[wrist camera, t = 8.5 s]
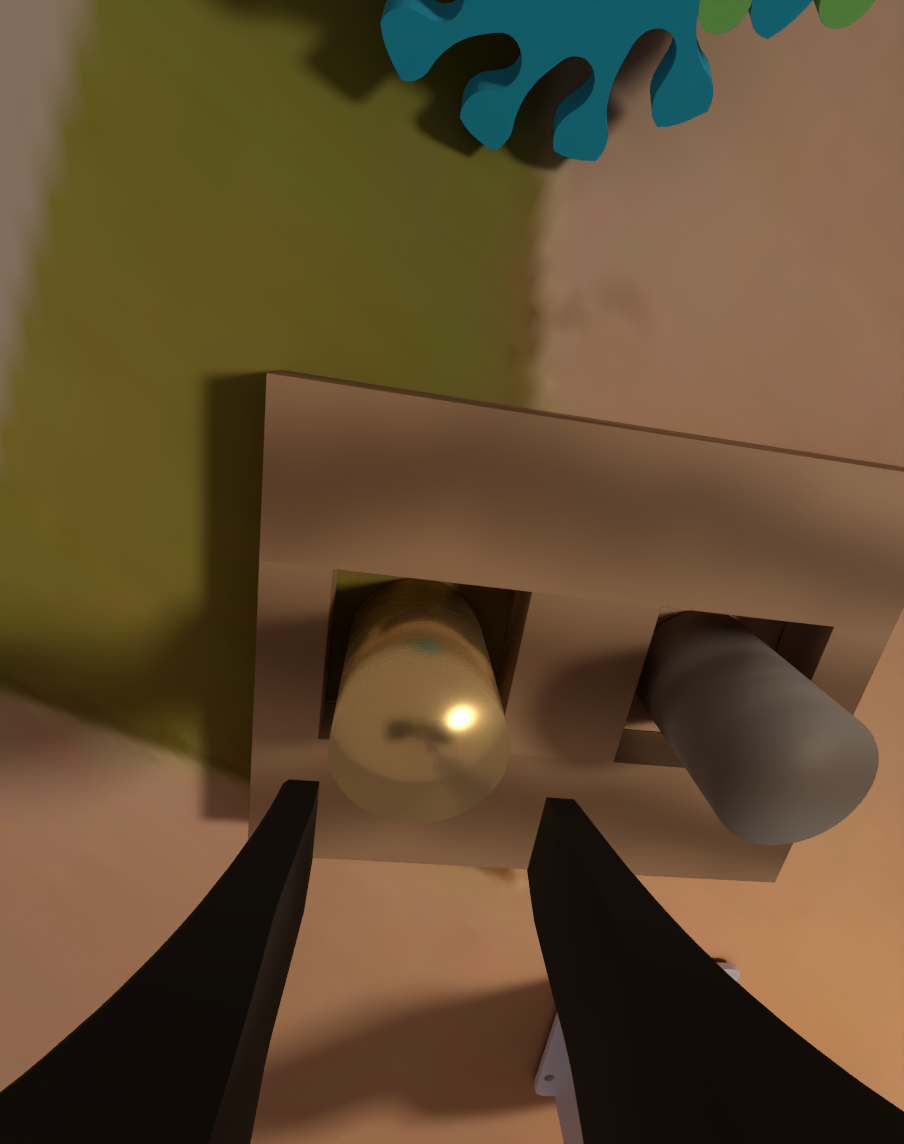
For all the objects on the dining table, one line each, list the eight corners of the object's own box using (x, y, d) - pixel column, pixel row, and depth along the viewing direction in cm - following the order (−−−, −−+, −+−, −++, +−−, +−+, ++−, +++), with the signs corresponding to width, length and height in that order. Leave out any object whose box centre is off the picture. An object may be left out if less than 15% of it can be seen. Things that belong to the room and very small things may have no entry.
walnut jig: (746, 841, 24) (847, 987, 19) (261, 811, 22) (211, 969, 16) (907, 467, 19) (1118, 518, 13) (282, 370, 16) (219, 381, 11)
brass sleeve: (476, 695, 21) (502, 822, 15) (350, 694, 20) (329, 824, 15) (486, 579, 19) (519, 674, 14) (349, 576, 19) (325, 672, 13)
